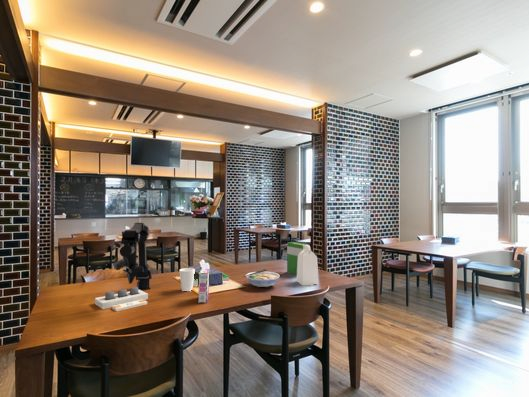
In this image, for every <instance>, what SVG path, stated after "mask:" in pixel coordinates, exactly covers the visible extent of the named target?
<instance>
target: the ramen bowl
mask: <svg viewBox="0 0 529 397" xmlns="http://www.w3.org/2000/svg"><path fill="white" fill-rule="evenodd" d="M280 276H281V275H280V274H279V273H278V272H277V273H276V272H273V271H268V269H265V268H264V269H262V270H258V271H252V272H248V273H246V274H245V275H243V278H246V280H247V281H248V282H249V283H250V284H251V285H252V286H255V287H257V288H259V287H266V288H268V287H271V286H273V285H275V284H276V283H277V282H278V280H279V279H280Z"/></svg>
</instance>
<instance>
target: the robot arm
mask: <svg viewBox="0 0 529 397" xmlns="http://www.w3.org/2000/svg"><path fill="white" fill-rule="evenodd" d="M149 237H150V229H149V227H148V226H147V225H145V223H144V222H134V224H133V226H131V228H128V229H125V230H124V231H123V233H122V236H121V241H120V245H123V246H121V247H120V249H119V254H120V256H122V258H121V259H120V260H117V261H115V262H113V263H112V266H113V269H114V270H116V271H119V270H121V269H122V268H123V269H122V271H123V272H124V273H125V274H126V278H127V281H128V284H129V285H131V284H132V283H133V281H134V280H136V281H137V282H136V287H138V290H141V291H144V290H145V291H146V290H149V289H151V287H150V280H151V279H152V278H153V276H152V271H151V269H150V265H149V264H148V263H147V240H148V238H149ZM137 252H138V254H137ZM137 260H138V261H137Z"/></svg>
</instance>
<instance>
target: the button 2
mask: <svg viewBox="0 0 529 397" xmlns="http://www.w3.org/2000/svg"><path fill="white" fill-rule="evenodd" d="M129 291H130V295H136V294H138V287H137V286H132V287H130V288H129Z"/></svg>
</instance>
